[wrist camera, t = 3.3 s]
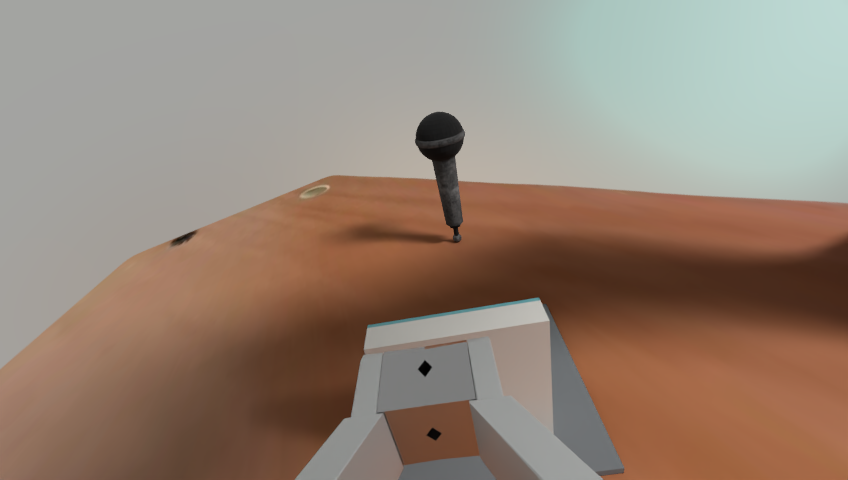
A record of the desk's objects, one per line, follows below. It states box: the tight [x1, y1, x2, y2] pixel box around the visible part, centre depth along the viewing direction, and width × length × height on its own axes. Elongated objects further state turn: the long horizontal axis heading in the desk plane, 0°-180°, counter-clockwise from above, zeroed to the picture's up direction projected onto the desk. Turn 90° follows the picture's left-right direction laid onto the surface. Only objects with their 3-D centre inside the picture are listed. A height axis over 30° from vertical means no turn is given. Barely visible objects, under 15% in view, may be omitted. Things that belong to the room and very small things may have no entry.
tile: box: [364, 298, 554, 434], centre depth 27 cm, size 2×12×12 cm, turn 92°
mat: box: [398, 304, 624, 480], centre depth 35 cm, size 18×20×1 cm
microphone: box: [415, 112, 465, 242], centre depth 54 cm, size 7×7×20 cm
